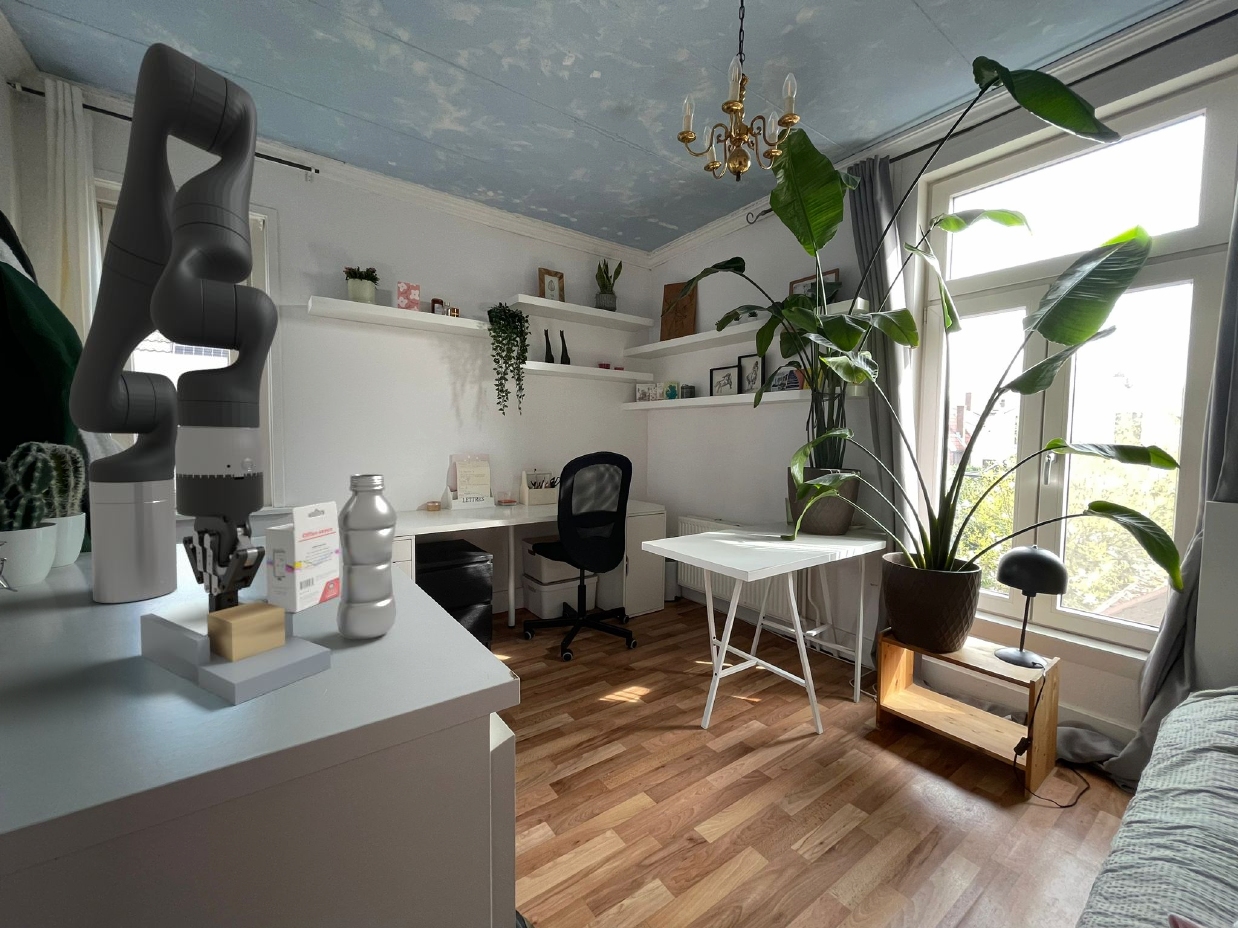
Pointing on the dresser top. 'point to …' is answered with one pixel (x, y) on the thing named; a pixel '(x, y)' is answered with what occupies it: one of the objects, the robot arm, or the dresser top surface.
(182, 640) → the grey angular piece
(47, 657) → the dresser top surface
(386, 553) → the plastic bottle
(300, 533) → the ink cartridge box
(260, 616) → the oak block
